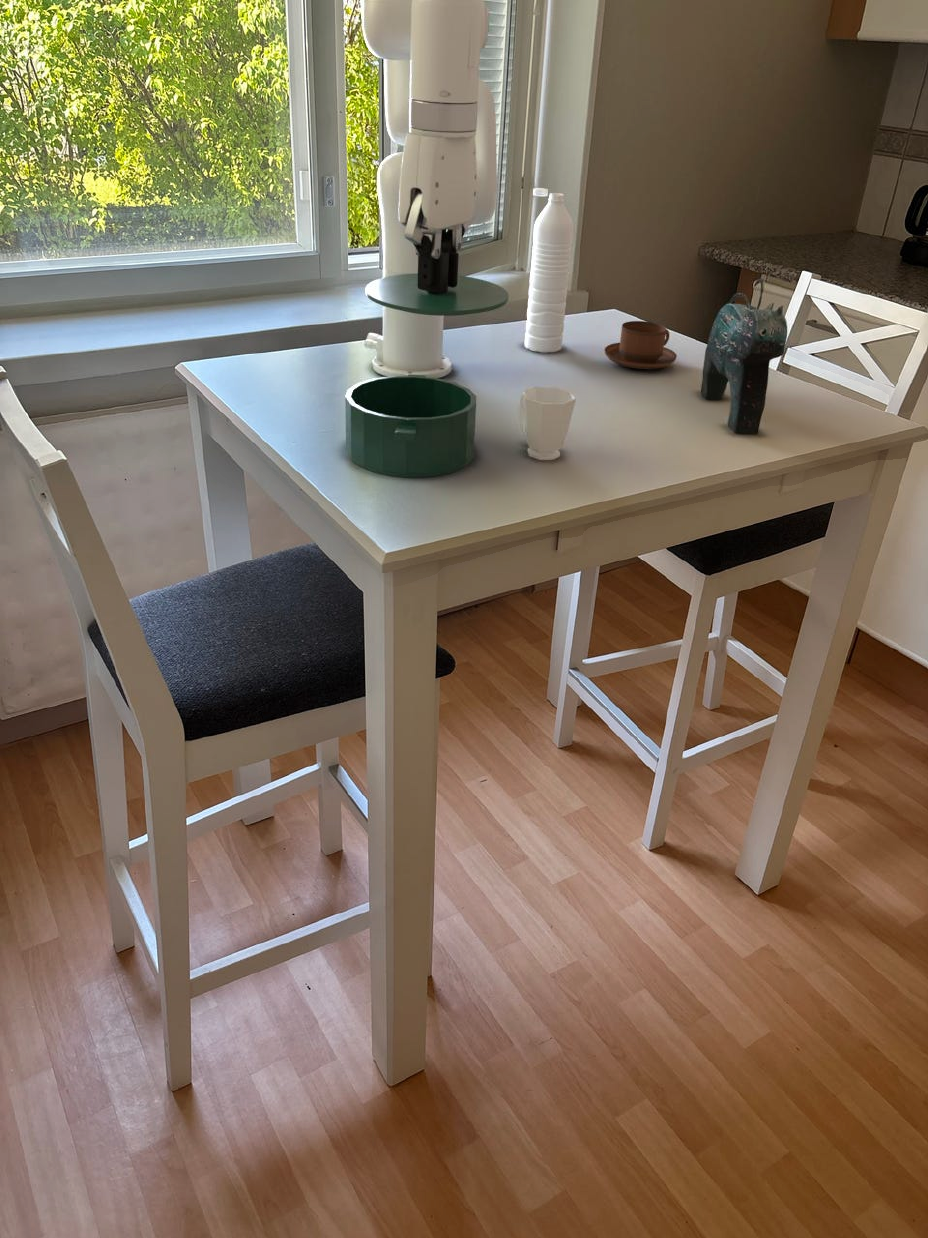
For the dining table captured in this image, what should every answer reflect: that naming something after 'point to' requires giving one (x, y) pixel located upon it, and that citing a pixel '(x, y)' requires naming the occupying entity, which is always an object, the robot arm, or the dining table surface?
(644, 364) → the cup and saucer
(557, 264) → the water bottle
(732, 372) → the ceramic cat
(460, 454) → the pot
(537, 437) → the cup
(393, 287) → the pot lid
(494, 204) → the robot arm
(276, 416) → the dining table surface
